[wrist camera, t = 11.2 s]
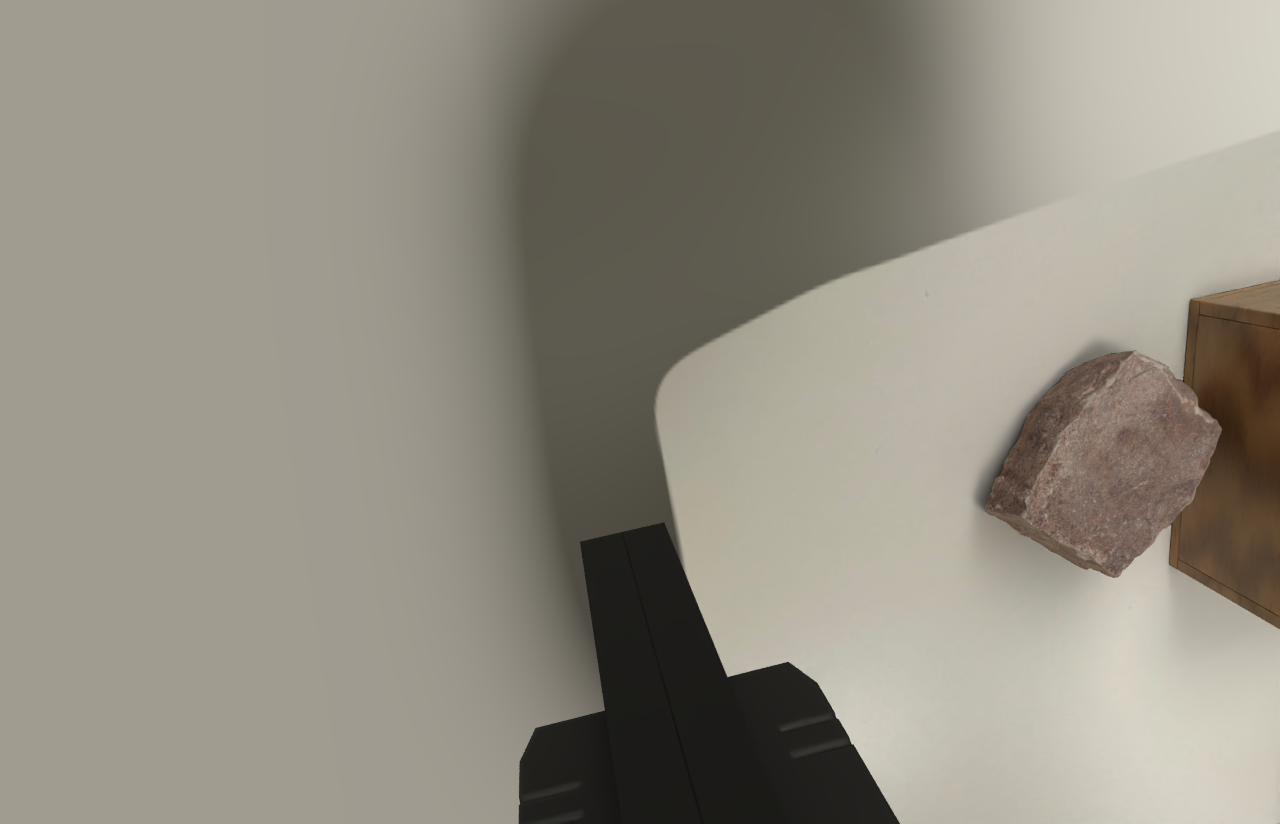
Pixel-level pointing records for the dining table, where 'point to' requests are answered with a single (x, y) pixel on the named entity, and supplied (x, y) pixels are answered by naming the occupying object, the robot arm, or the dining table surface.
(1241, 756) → the dining table surface
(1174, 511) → the stone
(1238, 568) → the box
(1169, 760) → the dining table surface
